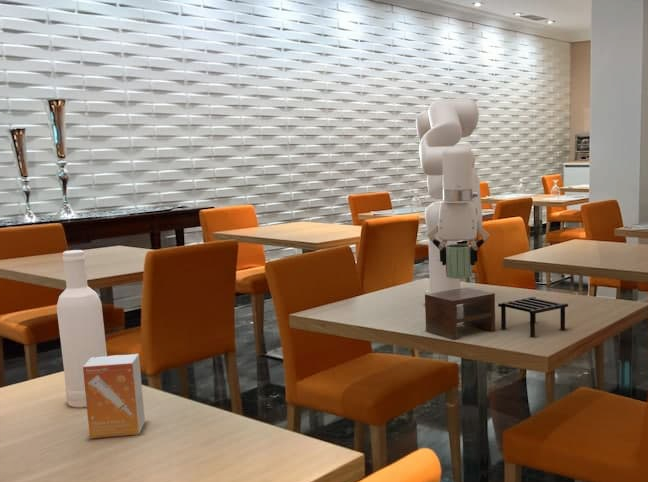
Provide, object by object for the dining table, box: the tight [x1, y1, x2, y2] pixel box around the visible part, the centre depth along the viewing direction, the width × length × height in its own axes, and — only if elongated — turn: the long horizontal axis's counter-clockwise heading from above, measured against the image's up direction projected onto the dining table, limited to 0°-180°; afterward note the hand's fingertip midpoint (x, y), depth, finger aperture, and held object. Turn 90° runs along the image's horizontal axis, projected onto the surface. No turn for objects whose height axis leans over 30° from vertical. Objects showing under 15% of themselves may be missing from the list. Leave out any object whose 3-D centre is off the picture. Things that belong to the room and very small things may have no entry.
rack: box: [497, 296, 569, 338], centre depth 198 cm, size 13×13×7 cm
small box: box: [83, 353, 146, 439], centre depth 131 cm, size 8×6×13 cm
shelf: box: [424, 287, 496, 340], centre depth 198 cm, size 12×14×10 cm
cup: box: [445, 243, 473, 280], centre depth 196 cm, size 7×7×8 cm
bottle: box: [56, 249, 108, 409], centre depth 146 cm, size 8×8×30 cm
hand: (458, 264), depth 196 cm, fingers closed on cup, 7 cm apart
